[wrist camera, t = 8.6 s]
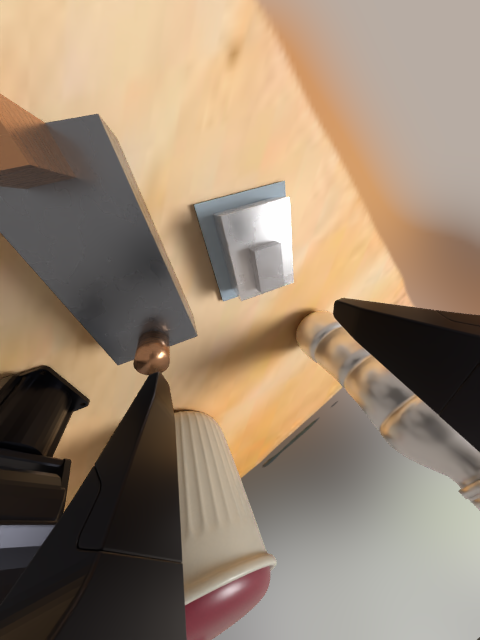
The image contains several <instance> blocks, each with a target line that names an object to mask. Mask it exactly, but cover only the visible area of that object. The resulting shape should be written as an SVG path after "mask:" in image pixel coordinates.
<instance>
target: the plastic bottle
mask: <svg viewBox="0 0 480 640" xmlns="http://www.w3.org/2000/svg"><path fill="white" fill-rule="evenodd" d="M296 338H297V343H298V345H299V346H300V348H301V350H302V351H303V352H304V353H305V354H306V355H307V356H308V357H310V358H311V359H312V360H314V361H315V362H317V363H318V364H319V365H321V366H322V367H323V368H324V369H325V370H326V371H327V372H328V373H330V374H331V375H332V376H333V377H334V378H335V379H336V380H337V381H338V382H339V383H340V384H341V385H342V386H343V387H344V388H345V389H346V391H347V392H348V393H349V394H350V395H351V397H352V398H353V399H354V400H355V401H356V402H357V403H358V404H359V406H360V407H361V409H362V410H363V411H364V413H365V414H366V415H367V417H368V418H369V419H370V421H371V422H372V423H373V425H374V426H375V427H376V429H377V430H378V431H379V432H380V433H381V435H382V436H383V438H384V439H385V440H386V441H387V442H388V444H389V445H390V446H391V447H392V448H394V449H395V450H397V451H398V452H399V453H401V454H402V455H403V456H405V457H407V458H409V459H411V460H413V461H415V462H417V463H419V464H421V465H423V466H425V467H427V468H430V469H432V470H434V471H437V472H439V473H442V474H444V475H446V476H448V477H450V478H451V479H453V481H455V482H456V483H457V484H458V485H459V486H460V488H461V489H460V490H459V492H460V493H461V494H462V495H463V496H464V497H465V498H466V499H469V500H470V501H471V502H472V503H473V504H474V505H475V506H476V507H477V508H478V509H479V510H480V452H479V451H477V450H476V449H475V448H474V447H473V446H472V445H471V444H470V443H469V442H467V441H466V440H465V439H464V438H463V437H462V436H461V435H460V434H459V433H457V432H456V431H455V430H454V429H453V428H452V427H451V426H450V425H449V424H447V423H446V422H445V421H444V420H443V419H442V418H441V417H440V416H439V415H438V414H436V413H435V412H434V411H433V410H432V409H431V408H430V407H429V406H428V405H426V404H425V403H424V402H423V401H422V400H421V399H420V398H419V397H418V396H416V395H415V394H414V393H413V392H412V391H411V390H410V389H409V388H408V387H406V386H405V385H404V384H403V383H402V382H401V381H400V380H399V379H397V378H396V377H395V376H394V375H393V374H392V373H391V372H390V371H389V370H387V369H386V368H385V367H384V366H383V365H382V364H381V363H380V362H379V361H377V360H376V359H375V358H374V357H373V356H372V355H371V354H370V353H369V352H367V351H366V350H365V349H364V348H363V347H362V346H361V345H360V344H359V343H357V342H356V341H355V340H354V339H353V338H352V337H351V336H350V335H349V333H348V332H347V331H346V330H345V329H344V328H343V327H342V326H341V325H340V324H339V322H338V321H337V320H336V319H335V318H334V316H333V313H331V312H328V311H317V312H313V313H311V314H309V315H307V316H306V317H305V318H304V319H303V320H302V321H301V322H300V324H299V326H298V328H297V332H296Z"/></svg>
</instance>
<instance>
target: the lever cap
mask: <svg viewBox="0 0 480 640" xmlns="http://www.w3.org/2000/svg"><path fill="white" fill-rule="evenodd" d="M213 217H214V221H215V225H216V229H217V233H218V237H219V240H220V244H221V248H222V252H223V256H224V260H225V263H226V267H227V271H228V275H229V279H230V282H231V286H232V289H233V291H234V292H235V293H236V295H237V296H238V297H239V299H240V300H241V301H243V300H246V299H249V298H252V297H255V296H257V295H260V294H263V293H266V292H268V291H271V290H274V289H277V288H280V287H282V286H285V285H288V284H291V283H294V278H293V257H292V236H291V215H290V197H275V198H269V199H265V200H261V201H258V202H254V203H251V204H247V205H244V206H240V207H237V208H233V209H229V210H226V211H222V212H219V213H215V214H213Z"/></svg>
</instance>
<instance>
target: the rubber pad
mask: <svg viewBox="0 0 480 640" xmlns="http://www.w3.org/2000/svg"><path fill="white" fill-rule="evenodd" d="M275 197H286V195H285V181H282V182H278V183H274V184H270V185H267V186H263V187H259V188H255V189H251V190H248V191H244V192H240V193H236V194H232V195H228V196H225V197H221V198H217V199H213V200H209V201H206V202H202V203H198V204H194V208H195V211H196V214H197V217H198V221H199V224H200V227H201V231H202V234H203V237H204V241H205V244H206V247H207V251H208V254H209V257H210V261H211V264H212V267H213V271H214V274H215V277H216V281H217V284H218V287H219V291H220V294H221V297H222V300H223V301H226V300H229V299H232V298H235V297H238V296H237V295H236V293H235V292H234V291H233V289H232V286H231V282H230V279H229V275H228V271H227V267H226V263H225V260H224V256H223V252H222V248H221V244H220V240H219V237H218V233H217V229H216V225H215V221H214V217H213V214H215V213H219V212H222V211H226V210H229V209H233V208H237V207H240V206H244V205H247V204H251V203H254V202H258V201H261V200H265V199H269V198H275Z"/></svg>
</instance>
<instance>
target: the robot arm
mask: <svg viewBox="0 0 480 640" xmlns="http://www.w3.org/2000/svg"><path fill="white" fill-rule="evenodd" d="M333 316H334V318H335V319H336V320H337V321H338V322H339V324H340V325H341V326H342V327H343V328H344V329H345V330H346V331H347V332H348V333H349V335H350V336H351V337H352V338H353V339H354V340H355V341H356V342H357V343H359V344H360V345H361V346H362V347H363V348H364V349H365V350H366V351H367V352H369V353H370V354H371V355H372V356H373V357H374V358H375V359H376V360H377V361H379V362H380V363H381V364H382V365H383V366H384V367H385V368H386V369H387V370H389V371H390V372H391V373H392V374H393V375H394V376H395V377H396V378H397V379H399V380H400V381H401V382H402V383H403V384H404V385H405V386H406V387H408V388H409V389H410V390H411V391H412V392H413V393H414V394H415V395H416V396H418V397H419V398H420V399H421V400H422V401H423V402H424V403H425V404H426V405H428V406H429V407H430V408H431V409H432V410H433V411H434V412H435V413H436V414H438V415H439V416H440V417H441V418H442V419H443V420H444V421H445V422H446V423H447V424H449V425H450V426H451V427H452V428H453V429H454V430H455V431H456V432H457V433H459V434H460V435H461V436H462V437H463V438H464V439H465V440H466V441H467V442H469V443H470V444H471V445H472V446H473V447H474V448H475V449H476V450H477V451H479V452H480V315H472V314H462V313H454V312H446V311H439V310H436V311H435V310H431V309H423V308H415V307H408V306H400V305H393V304H385V303H377V302H370V301H362V300H355V299H347V298H341V299H339V300H336V301H335V303H334V311H333ZM43 371H45V372H43ZM89 402H90V400H89V399H88V398H87V397H85V396H84V395H83V394H82V393H81V392H79V391H78V390H77V389H76V388H74V387H73V386H72V385H71V384H70V383H68V382H67V381H66V380H65V379H64V378H62V377H61V376H60V375H59V374H57V373H56V372H55V371H54V370H53V369H51V368H50V367H48V366H41V367H38V368H35V369H32V370H29V371H27V372H24V373H21V374H16V375H11V376H8V377H5V378H2V379H0V640H187V635H186V616H185V597H184V578H183V563H182V542H181V522H180V503H179V484H178V465H177V445H176V426H175V416H174V410H173V405H172V399H171V393H170V388H169V384H168V382H167V381H166V379H165V378H164V377H163V375H162V374H161V373H160V372H156V373H153V374H151V375H149V376H148V378H147V380H146V381H145V383H144V385H143V386H142V388H141V389H140V391H139V393H138V394H137V396H136V398H135V399H134V401H133V402H132V404H131V406H130V407H129V409H128V411H127V412H126V414H125V416H124V417H123V419H122V420H121V422H120V424H119V425H118V427H117V429H116V430H115V432H114V433H113V435H112V437H111V438H110V440H109V442H108V443H107V445H106V446H105V448H104V450H103V451H102V453H101V455H100V456H99V458H98V460H97V461H96V463H95V466H94V467H93V468H92V469H91V471H90V472H89V474H88V476H87V477H86V479H85V481H84V482H83V484H82V485H81V487H80V488H79V490H78V492H77V493H76V495H75V496H74V498H73V499H72V501H71V503H70V504H69V506H68V507H67V509H66V510H65V511H64V507H65V501H66V494H67V487H68V480H69V473H70V466H71V460H70V459H58V458H53V455H54V452H55V450H56V448H57V446H58V444H59V441H60V439H61V437H62V435H63V433H64V430H65V428H66V426H67V424H68V422H69V419H70V417H71V415H72V413H73V412H74V411H76V410H79V409H81V408H84V407H86V406H88V405H89ZM63 512H64V513H63ZM477 640H480V637H479V638H478V639H477Z"/></svg>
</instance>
